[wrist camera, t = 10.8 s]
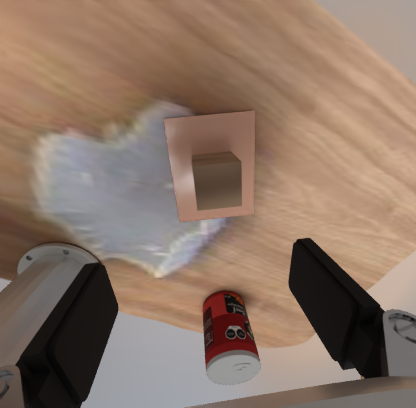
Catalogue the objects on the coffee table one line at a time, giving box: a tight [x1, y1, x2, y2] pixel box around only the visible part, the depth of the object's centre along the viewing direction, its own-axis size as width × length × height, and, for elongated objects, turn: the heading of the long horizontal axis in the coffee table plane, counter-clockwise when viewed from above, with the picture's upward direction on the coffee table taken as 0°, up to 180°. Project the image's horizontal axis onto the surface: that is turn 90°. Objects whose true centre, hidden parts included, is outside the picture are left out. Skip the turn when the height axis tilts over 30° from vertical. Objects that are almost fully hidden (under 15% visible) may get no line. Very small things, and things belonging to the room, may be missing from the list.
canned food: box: [203, 291, 261, 385], centre depth 33 cm, size 8×8×11 cm
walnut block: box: [192, 151, 242, 211], centre depth 24 cm, size 5×5×6 cm
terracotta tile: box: [163, 111, 255, 222], centre depth 27 cm, size 14×11×1 cm
